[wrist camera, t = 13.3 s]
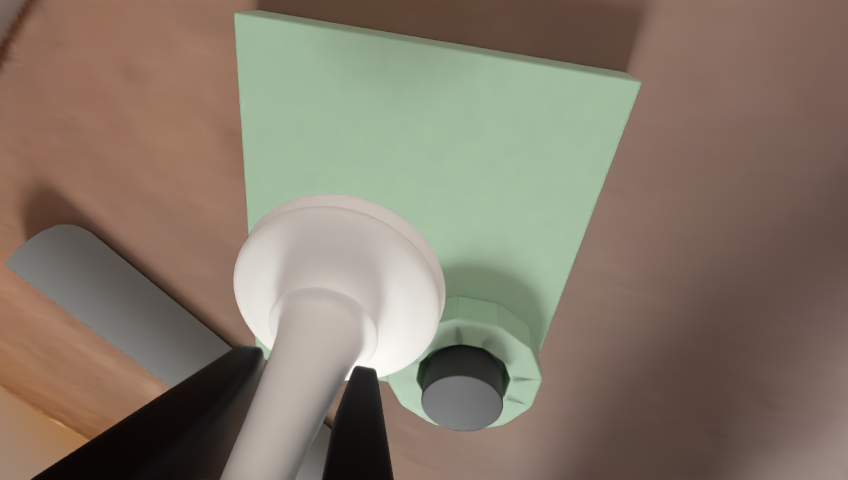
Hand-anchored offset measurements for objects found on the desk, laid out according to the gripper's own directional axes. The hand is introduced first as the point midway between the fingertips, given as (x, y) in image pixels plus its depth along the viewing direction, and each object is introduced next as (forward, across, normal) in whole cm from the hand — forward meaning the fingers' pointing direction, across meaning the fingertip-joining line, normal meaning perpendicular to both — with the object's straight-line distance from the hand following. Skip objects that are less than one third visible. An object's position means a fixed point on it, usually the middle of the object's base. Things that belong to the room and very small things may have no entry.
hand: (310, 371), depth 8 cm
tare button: (+7, -4, +6) cm, 10 cm away
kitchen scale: (+10, -1, +2) cm, 10 cm away
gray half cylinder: (+10, +8, +12) cm, 17 cm away
